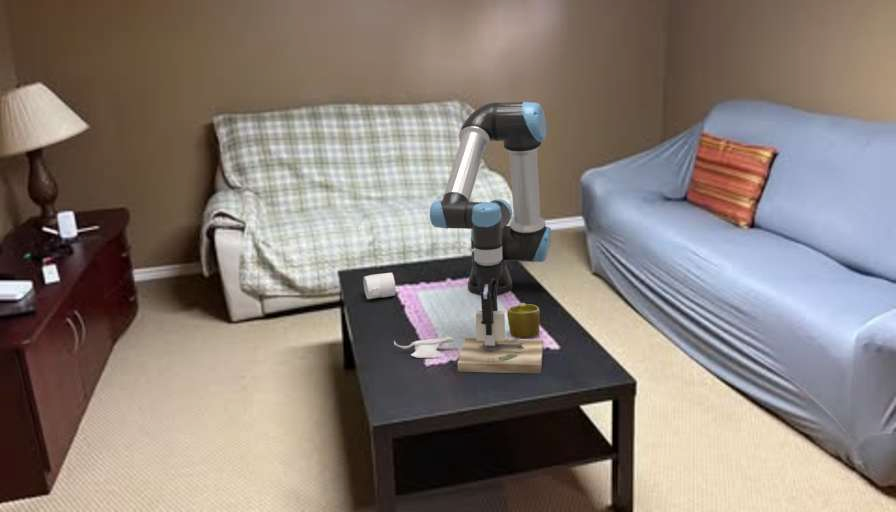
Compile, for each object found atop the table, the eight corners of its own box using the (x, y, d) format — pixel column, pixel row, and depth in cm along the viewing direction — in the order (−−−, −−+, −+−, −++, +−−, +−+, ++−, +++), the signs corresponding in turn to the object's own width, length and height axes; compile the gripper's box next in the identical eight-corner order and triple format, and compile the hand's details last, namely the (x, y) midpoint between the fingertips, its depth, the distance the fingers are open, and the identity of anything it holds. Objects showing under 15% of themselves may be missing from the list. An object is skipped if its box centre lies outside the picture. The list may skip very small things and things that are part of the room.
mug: (544, 336, 219) (533, 303, 219) (510, 345, 222) (499, 312, 222) (550, 327, 231) (540, 296, 231) (518, 336, 234) (508, 304, 234)
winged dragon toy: (391, 362, 214) (390, 348, 212) (392, 346, 223) (391, 333, 222) (456, 357, 214) (455, 344, 213) (453, 342, 224) (453, 329, 223)
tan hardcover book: (465, 346, 220) (465, 337, 220) (543, 347, 217) (543, 338, 216) (457, 371, 205) (457, 361, 205) (540, 373, 202) (540, 363, 201)
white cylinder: (396, 299, 258) (395, 277, 256) (369, 303, 256) (367, 281, 254) (389, 288, 269) (388, 266, 267) (363, 291, 267) (361, 270, 265)
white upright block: (478, 343, 216) (477, 308, 212) (522, 344, 214) (521, 309, 210) (476, 351, 211) (475, 315, 208) (521, 352, 209) (520, 316, 206)
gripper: (479, 251, 213) (482, 329, 220) (468, 270, 198) (472, 353, 206) (506, 252, 212) (508, 330, 219) (497, 271, 197) (500, 355, 204)
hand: (491, 341), depth 212 cm, fingers closed on white upright block, 3 cm apart
